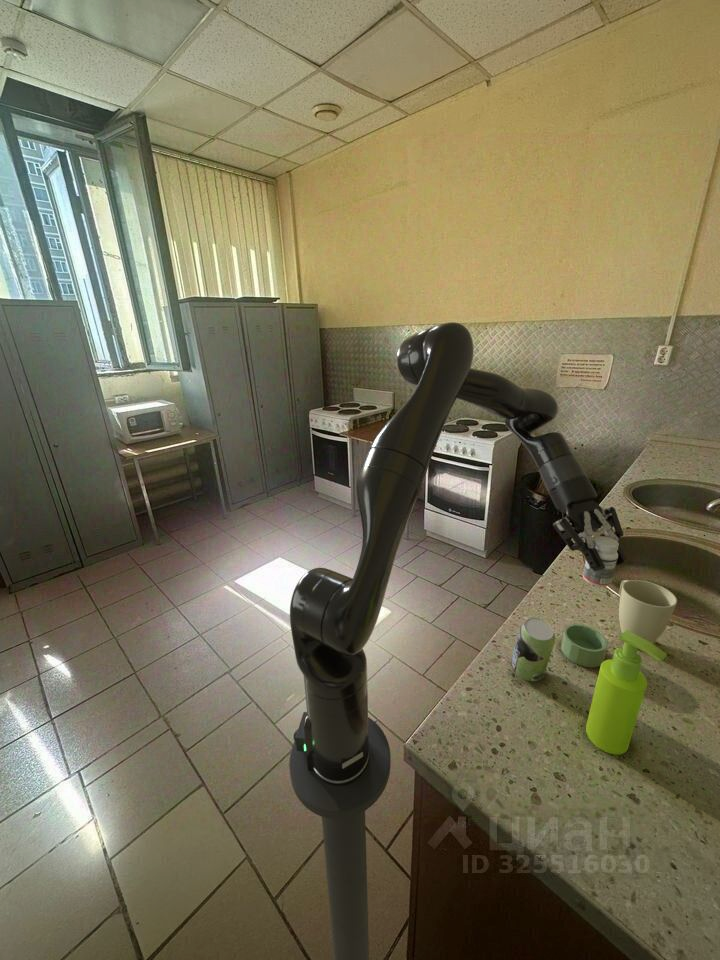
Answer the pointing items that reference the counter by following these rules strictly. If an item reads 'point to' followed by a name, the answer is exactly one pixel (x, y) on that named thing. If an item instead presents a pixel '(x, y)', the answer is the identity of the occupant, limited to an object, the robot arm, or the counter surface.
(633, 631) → the mug
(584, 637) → the holder
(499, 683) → the counter surface
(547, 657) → the beverage can
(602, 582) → the pill bottle
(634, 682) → the soap dispenser
